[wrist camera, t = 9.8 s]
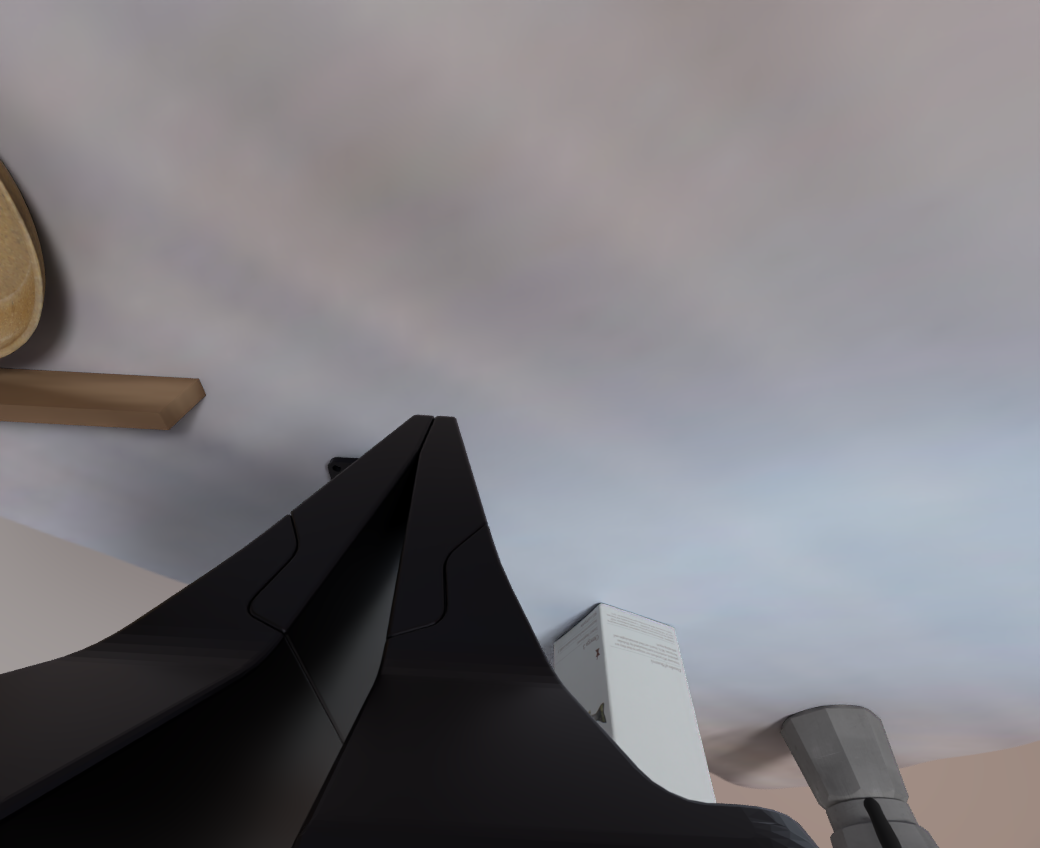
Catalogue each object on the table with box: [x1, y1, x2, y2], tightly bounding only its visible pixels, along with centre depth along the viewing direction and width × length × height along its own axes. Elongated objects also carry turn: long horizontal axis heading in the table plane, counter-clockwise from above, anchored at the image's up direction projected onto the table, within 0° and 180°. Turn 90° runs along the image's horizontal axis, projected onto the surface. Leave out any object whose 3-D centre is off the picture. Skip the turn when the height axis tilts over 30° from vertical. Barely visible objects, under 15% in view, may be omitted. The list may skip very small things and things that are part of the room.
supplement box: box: [554, 603, 716, 803], centre depth 32 cm, size 7×7×13 cm
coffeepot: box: [781, 705, 939, 848], centre depth 38 cm, size 15×9×18 cm, turn 26°
